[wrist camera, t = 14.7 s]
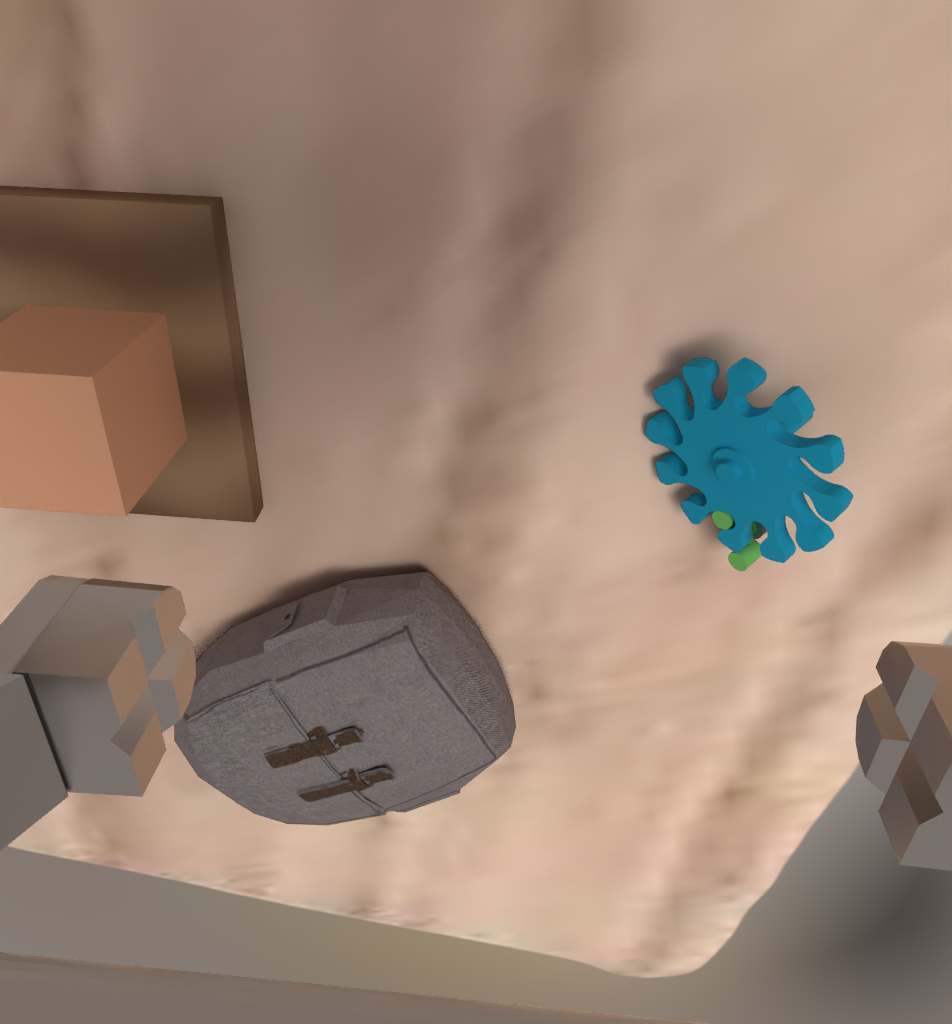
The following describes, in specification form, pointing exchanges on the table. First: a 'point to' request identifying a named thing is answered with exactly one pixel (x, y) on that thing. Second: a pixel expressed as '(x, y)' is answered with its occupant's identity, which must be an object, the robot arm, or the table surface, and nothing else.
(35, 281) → the stub plate
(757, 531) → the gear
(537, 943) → the table surface
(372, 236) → the table surface
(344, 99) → the table surface
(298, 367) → the table surface
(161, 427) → the salmon orange block
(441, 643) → the small grey backpack
